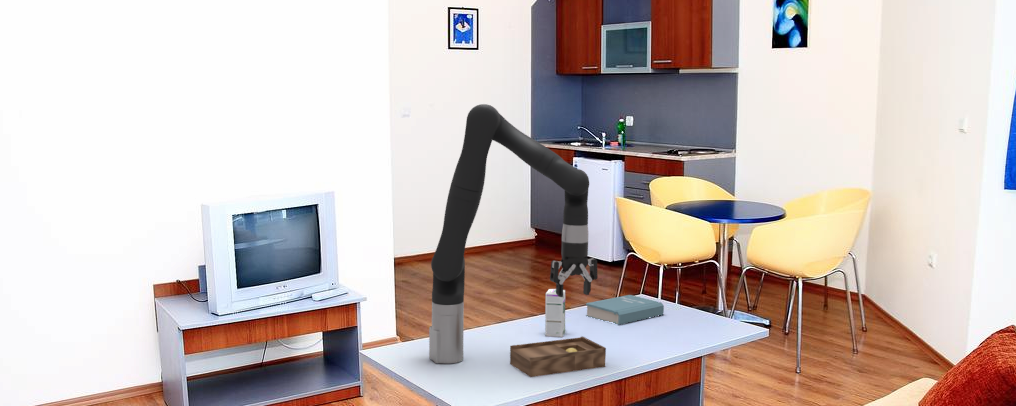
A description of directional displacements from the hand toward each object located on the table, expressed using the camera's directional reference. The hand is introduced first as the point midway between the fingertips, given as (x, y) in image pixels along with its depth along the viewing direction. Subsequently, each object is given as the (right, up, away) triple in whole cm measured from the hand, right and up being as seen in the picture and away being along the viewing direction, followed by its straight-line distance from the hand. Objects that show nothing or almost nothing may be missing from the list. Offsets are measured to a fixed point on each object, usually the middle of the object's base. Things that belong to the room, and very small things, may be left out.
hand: (573, 295), depth 256 cm
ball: (0, -18, +2) cm, 18 cm away
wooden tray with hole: (-5, -20, 0) cm, 21 cm away
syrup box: (-4, -16, +33) cm, 37 cm away
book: (+22, -14, +59) cm, 65 cm away
